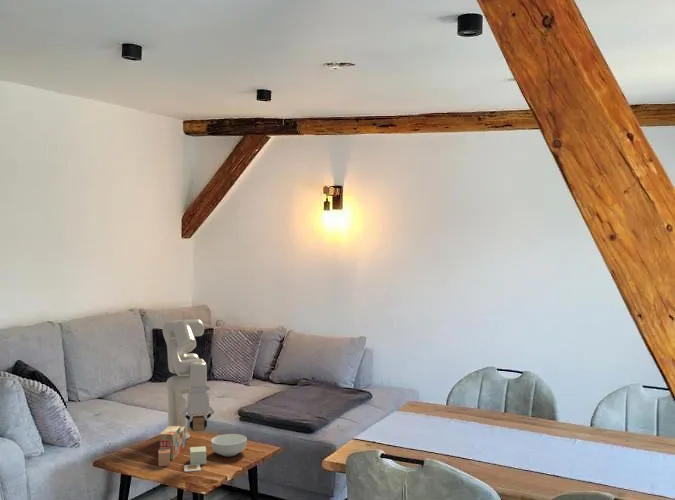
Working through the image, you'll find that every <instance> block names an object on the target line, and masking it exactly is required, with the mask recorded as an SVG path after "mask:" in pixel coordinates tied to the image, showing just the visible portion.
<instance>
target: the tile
mask: <svg viewBox="0 0 675 500" xmlns="http://www.w3.org/2000/svg"><path fill="white" fill-rule="evenodd" d="M183 469H184V471H183V472H184V473H188V472H201V471H202V469H201V464H195V465H190V464H185V465H183Z"/></svg>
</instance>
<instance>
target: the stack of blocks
mask: <svg viewBox="0 0 675 500" xmlns="http://www.w3.org/2000/svg"><path fill="white" fill-rule="evenodd" d="M186 441H187V439H186V427H180V426H168V425H167V427H166V428H165V429H164V430H162V431H161V432H160V433H159V450H160V449H170V461H173V460H174V459H175V458H176V457H177V456H178V455H179V454H180V452H181V451H182V449H184V448H185V446H186V445H187V442H186Z"/></svg>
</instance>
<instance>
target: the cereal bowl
mask: <svg viewBox="0 0 675 500" xmlns="http://www.w3.org/2000/svg"><path fill="white" fill-rule="evenodd" d="M247 443H248V439H247V437H246V435H243V434H239V433H238V434H237V433H225V434H220V435H217V436H214V437H212V438H211V443H210V444H211V447H212V451H214V452H215V453H216V454H218V455H221V456H223V457H234V456H236V455H238V454H239V453H242V452H243V451H244V450H245V449H246V447H247Z"/></svg>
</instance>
